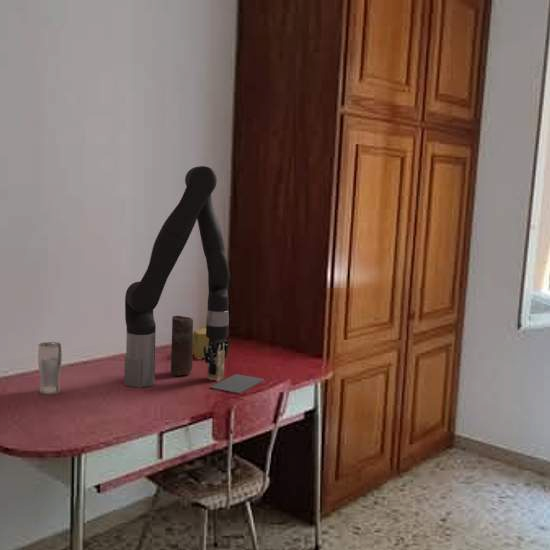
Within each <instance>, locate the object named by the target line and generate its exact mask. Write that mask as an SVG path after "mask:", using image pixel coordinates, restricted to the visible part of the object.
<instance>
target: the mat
mask: <svg viewBox="0 0 550 550" xmlns="http://www.w3.org/2000/svg"><path fill="white" fill-rule="evenodd" d="M264 381H265V378H261V377H255V376H248V375H243V374H239V373H238V374H237V373H235V374H233V375H231V376H229V377H227V378H225V379H222V380H220V381H218V382H217V383H215V384H212V385H211V386H209V389H211V388H213V389H212V390H216V389H218V390H217V391H221V390H223V392H227V391H228V392H227V393H231V394H233V393H234V394H237V395H240V394H242V393H244V392H246V391H247V390H249V389H251V388H253V387H255V386H257V385H258V384H260V383H262V382H264Z"/></svg>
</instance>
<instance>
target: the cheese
mask: <svg viewBox="0 0 550 550" xmlns="http://www.w3.org/2000/svg"><path fill="white" fill-rule="evenodd" d="M208 343H209V338H208V337H206V327H202V328H200V329H197V330H196V329H195V330H193V351H192V353H193V354H194V355H195V356H196V357H195V356H194V355H193V354H192V355H193V356H194V357H195V359H196V358H197V359H196V360H199V359H198V358H205V355H204V347H207V346H208Z"/></svg>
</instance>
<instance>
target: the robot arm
mask: <svg viewBox="0 0 550 550" xmlns="http://www.w3.org/2000/svg"><path fill="white" fill-rule="evenodd" d="M217 181H218V180H217V174H216V173H215V171H214V169H212V168H211V167H209V166H206V165H203V166H202V165H199V166H195V167H194V166H193V167H192V168H191V169H190V170H188V171H187V173H186V175H185V178H184V183H185V186H186V187H185V189H184V191H183V194H182V196H181V199H180V200H179V202H178V204H177V205H176V206H175V208H174V209H173V210H172V212H171V213H170V214H169V215H168V217H167V218H166V220H165V221H164V223H163V225H162V226H161V229H160V230H159V232H158V234H157V236H156V238H155V241H154V243H153V247H152V249H151V254H150V257H149V258H150V259H149V263H148V266H147V268H146V270H145V273H144V274H143V276H142V278H141V280H140V281H135V282H133V283H131V284H130V285H129V286H128V287H127V289H126V292H125V296H124V297H125V298H124V305H125V306H124V312H125V313H124V315H125V316H124V318H125V319H124V320H125V326H126V339H125V340H126V347H125V350H126V351H125V352H126V353H125V354H126V355H125V356H124V366H123V367H124V371H123V372H124V377H123V378H124V379H123V382H124V383H123V385H124V386H129V387H132V388H138V389H141V388H147V387H151V386H153V385H155V380H156V379H155V375H156V373H155V372H156V367H155V366H156V321H155V316H154V310H155V308H156V307H157V305H158V304H159V302H160V298H161V296H162V293H163V290H164V289H165V285H166V283H167V281H168V278H169V276H170V274H171V272H172V271H173V269H174V267H175V265H176V264H177V262H178V259H179V257H180V256H181V254H182V252H183V250H184V249H185V247H186V244H187V243H188V240H189V239H190V236H191V234H192V232H193V229H194V227H195V224H196V223H197V225H198V231H199V234H200V240H201V244H202V251H203V254H204V257H205V260H206V262H205V263H206V268H207V275H208V276H207V282H208V285H207V286H208V296H207V307H206V308H207V311H206V317H205V318H206V320H205V324H206V325H205V328H206V337H208V338H209V343H208V346H207V347H204V355H205V359H204V360H205V361H204V362H205V363H206V364H208V363H209V374H211V375H215V374H216V359H217V357H218V352H219V350H225V355H224V359H225V358H227V356H228V353H229V348H230V347H229V346H230V340H227V338H228V337H229V329H230V328H229V324H230V323H229V321H230V316H229V315H230V314H229V304H230V303H229V302H230V301H229V281H230V279H231V272H230V269H229V264H228V261H227V257H226V249H225V243H224V239H223V233H222V229H221V226H220V224H219V220H218V217H217V215H216V213H215V210H214V209H215V208H214V205H213V200H212V193H213V192H214V190H215V188H216V186H217ZM212 353H216V354H215V355H213V354H212ZM208 357H209V359H208ZM213 357H214V360H213Z"/></svg>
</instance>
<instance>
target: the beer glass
mask: <svg viewBox="0 0 550 550" xmlns="http://www.w3.org/2000/svg"><path fill="white" fill-rule="evenodd" d="M37 351H38V352H37V365H38V370H39V375H40V388H39V393H40V394H42V395H56V394H58V393H60V392H61V387H60V386H61V385H60V373H61V369H62V358H63V356H62V355H63V353H62V352H63V351H62V343H61V342H56V341H45V342H44V341H43V342H40V343H39V344H38V350H37Z"/></svg>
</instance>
